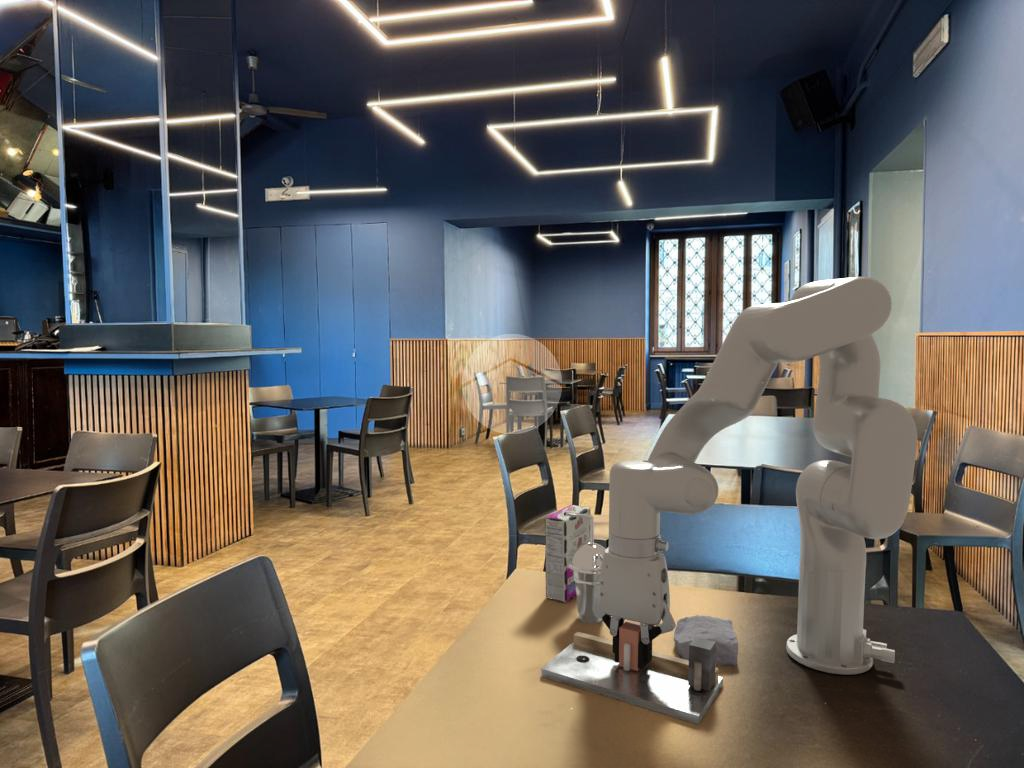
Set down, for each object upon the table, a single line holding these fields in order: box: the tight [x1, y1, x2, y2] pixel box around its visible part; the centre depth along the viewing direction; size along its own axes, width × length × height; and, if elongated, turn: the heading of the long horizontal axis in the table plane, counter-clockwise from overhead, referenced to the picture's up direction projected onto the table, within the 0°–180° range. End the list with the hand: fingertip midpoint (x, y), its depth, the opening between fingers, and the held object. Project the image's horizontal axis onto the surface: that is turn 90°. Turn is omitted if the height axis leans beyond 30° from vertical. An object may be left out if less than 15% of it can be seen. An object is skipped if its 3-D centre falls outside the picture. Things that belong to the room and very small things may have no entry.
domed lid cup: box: [564, 512, 607, 624], centre depth 124 cm, size 8×9×20 cm
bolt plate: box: [540, 640, 724, 725], centre depth 102 cm, size 24×12×1 cm, turn 58°
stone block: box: [673, 614, 739, 666], centre depth 113 cm, size 12×5×10 cm
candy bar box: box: [544, 504, 591, 604], centre depth 136 cm, size 11×5×16 cm, turn 148°
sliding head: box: [619, 620, 641, 671], centre depth 104 cm, size 3×4×6 cm
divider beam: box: [573, 631, 719, 691], centre depth 104 cm, size 23×6×6 cm, turn 58°
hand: (631, 660), depth 104 cm, fingers closed on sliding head, 3 cm apart
